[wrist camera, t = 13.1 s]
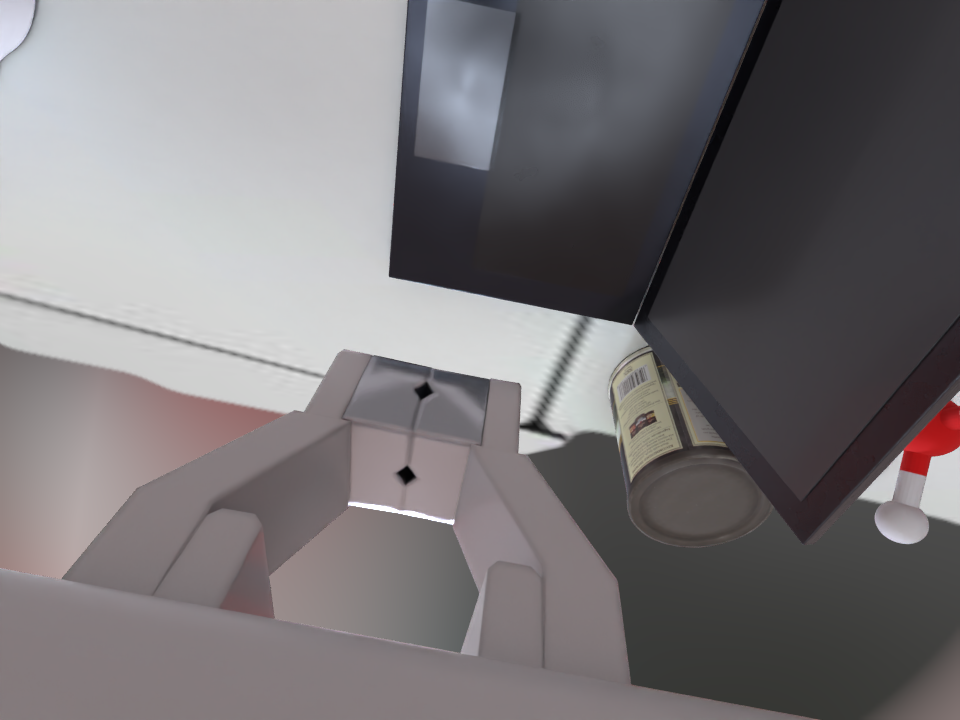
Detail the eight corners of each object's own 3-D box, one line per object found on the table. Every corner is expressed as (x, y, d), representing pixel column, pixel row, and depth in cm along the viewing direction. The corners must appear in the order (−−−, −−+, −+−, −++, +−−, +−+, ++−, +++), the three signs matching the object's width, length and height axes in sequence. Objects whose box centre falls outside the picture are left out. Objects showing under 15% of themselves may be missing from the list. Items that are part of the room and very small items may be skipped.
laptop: (393, 268, 44) (388, 277, 43) (431, -247, 27) (425, -263, 25) (629, 314, 44) (632, 326, 43) (820, -163, 27) (837, -173, 25)
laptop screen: (801, 545, 27) (814, 544, 27) (1675, -400, 9) (1693, -381, 10) (632, 325, 43) (641, 326, 43) (835, -172, 26) (850, -167, 26)
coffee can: (690, 435, 52) (733, 559, 40) (593, 414, 51) (607, 533, 40) (741, 356, 46) (807, 474, 34) (631, 330, 45) (661, 442, 34)
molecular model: (944, 318, 42) (1040, 395, 34) (1008, 331, 42) (1120, 411, 34) (822, 462, 52) (874, 548, 44) (875, 473, 52) (936, 560, 44)
